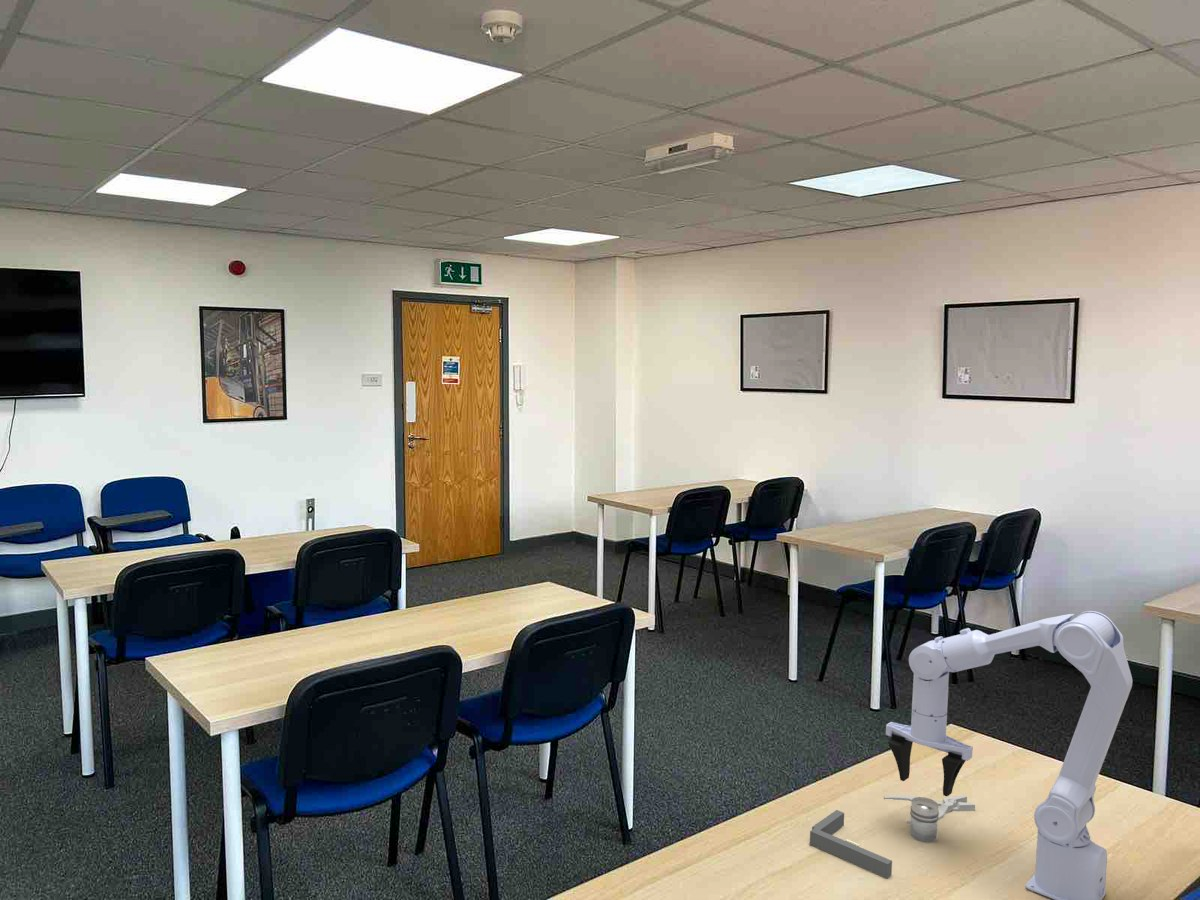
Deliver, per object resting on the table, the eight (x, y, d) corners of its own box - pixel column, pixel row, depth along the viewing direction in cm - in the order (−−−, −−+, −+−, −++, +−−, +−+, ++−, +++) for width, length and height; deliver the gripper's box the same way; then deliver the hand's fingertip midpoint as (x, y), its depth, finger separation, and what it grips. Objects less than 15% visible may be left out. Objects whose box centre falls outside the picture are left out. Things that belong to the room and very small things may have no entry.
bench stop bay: (914, 854, 143) (915, 840, 143) (887, 878, 136) (887, 863, 136) (836, 822, 153) (836, 809, 153) (807, 843, 146) (807, 829, 146)
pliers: (883, 791, 163) (955, 787, 165) (883, 799, 163) (955, 795, 165) (909, 817, 153) (986, 812, 155) (908, 826, 153) (985, 821, 155)
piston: (941, 836, 149) (943, 803, 149) (930, 846, 146) (932, 812, 145) (916, 826, 152) (917, 794, 152) (904, 835, 149) (906, 803, 149)
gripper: (981, 716, 145) (976, 793, 146) (899, 693, 155) (896, 765, 156) (964, 728, 140) (960, 807, 141) (881, 703, 150) (878, 777, 151)
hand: (925, 786), depth 148 cm, fingers open, 7 cm apart
